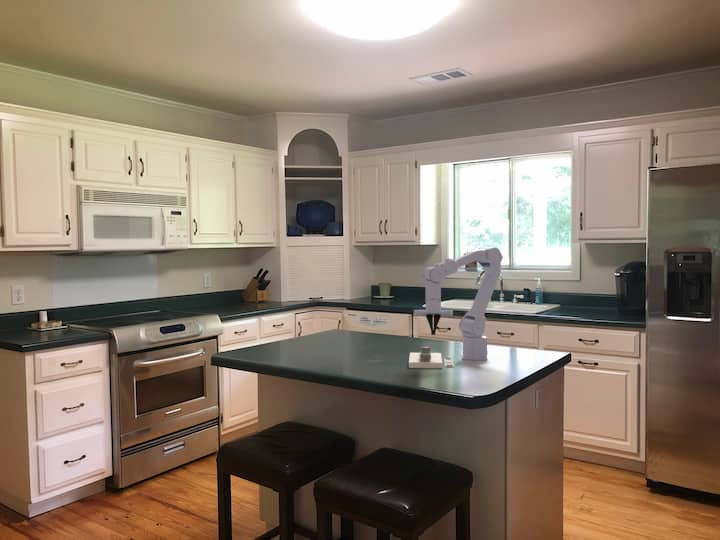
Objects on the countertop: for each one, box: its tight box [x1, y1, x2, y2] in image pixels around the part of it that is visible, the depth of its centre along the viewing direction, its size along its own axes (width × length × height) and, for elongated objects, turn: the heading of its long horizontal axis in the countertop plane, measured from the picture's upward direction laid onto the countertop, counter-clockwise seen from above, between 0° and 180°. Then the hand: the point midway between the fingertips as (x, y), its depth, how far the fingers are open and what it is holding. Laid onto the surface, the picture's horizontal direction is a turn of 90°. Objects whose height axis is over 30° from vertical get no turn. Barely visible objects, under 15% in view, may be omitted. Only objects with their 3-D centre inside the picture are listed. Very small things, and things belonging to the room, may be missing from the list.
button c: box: [420, 354, 431, 362], centre depth 213 cm, size 4×4×4 cm
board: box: [408, 352, 443, 369], centre depth 219 cm, size 12×18×2 cm, turn 174°
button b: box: [419, 345, 432, 354], centre depth 219 cm, size 4×4×4 cm
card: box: [443, 357, 455, 368], centre depth 219 cm, size 3×14×1 cm, turn 173°
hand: (433, 334), depth 221 cm, fingers closed
